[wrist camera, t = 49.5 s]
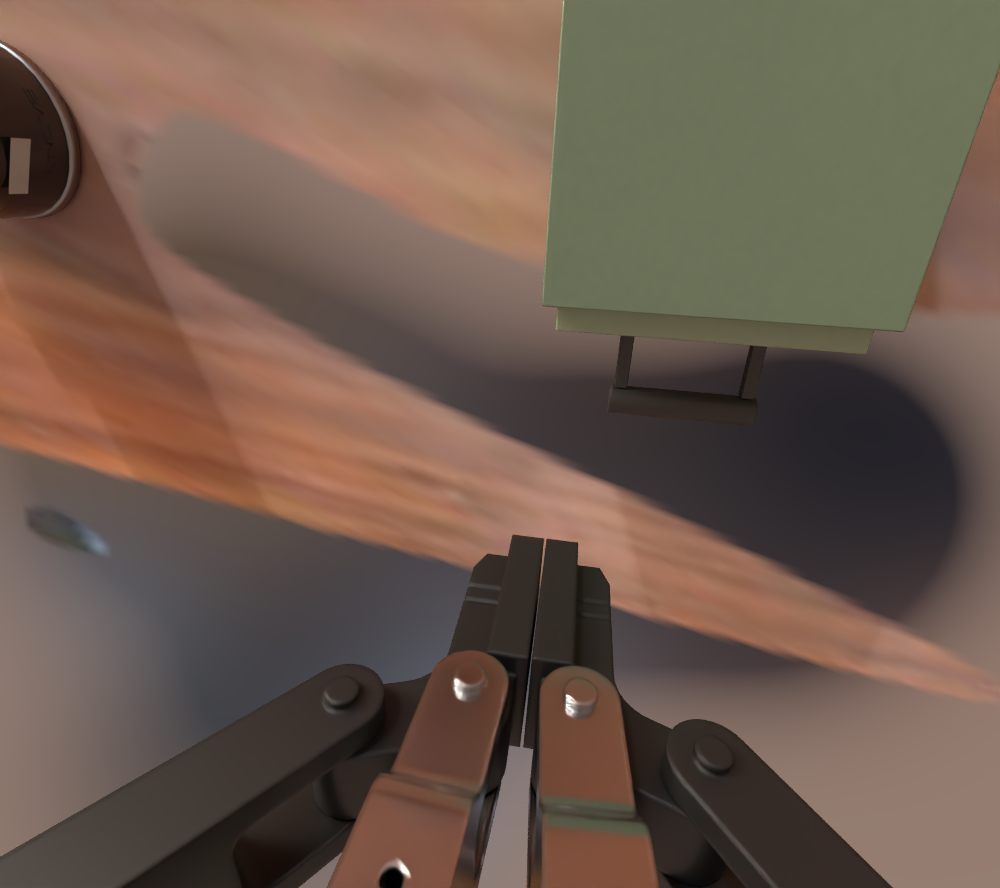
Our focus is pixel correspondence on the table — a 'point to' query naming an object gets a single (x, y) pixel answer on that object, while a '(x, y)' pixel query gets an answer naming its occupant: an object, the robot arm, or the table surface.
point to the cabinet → (761, 154)
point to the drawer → (703, 330)
